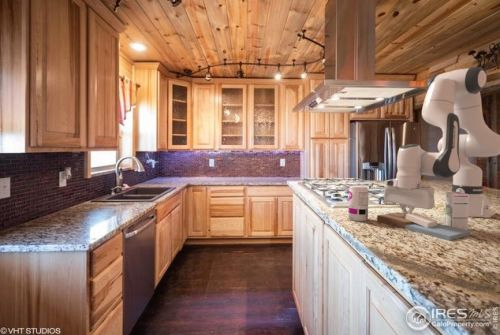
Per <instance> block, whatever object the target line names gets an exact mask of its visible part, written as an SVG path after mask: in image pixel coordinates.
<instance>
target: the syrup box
mask: <svg viewBox="0 0 500 335" xmlns="http://www.w3.org/2000/svg"><path fill="white" fill-rule="evenodd" d="M468 205H469V194H465V193H462V192H452V191H446V192H445V208H444V209H445V210H444V211H445V213H444V214H445V215H444V225H447V226H451V227H456V228H460V229H465V230H468V228H469V226H468V225H469V216H468Z"/></svg>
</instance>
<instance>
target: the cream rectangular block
mask: <svg viewBox="0 0 500 335" xmlns="http://www.w3.org/2000/svg"><path fill="white" fill-rule="evenodd" d="M405 219H407V220H409V221H412V222H414V223H417V224H419V225H422V226H424V227H426V228H428V227H433V226H437V223H438V220H435V219H432V218H430V217H428V216H425V215H423V214H420V213H418V212H417V213H416V212H412V213H411V214H406V217H405Z"/></svg>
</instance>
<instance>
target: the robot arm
mask: <svg viewBox="0 0 500 335" xmlns="http://www.w3.org/2000/svg"><path fill="white" fill-rule="evenodd" d="M487 78H488V76H487V72H486V70H485V69H484V68H482V67H480V66H479V67H477V66H472V67H469V68H460V69H459V68H458V69H454V70H451V71H447V72H443V73H438V74H435V75H432V76H431V77H430V78H429V79H428V80H427V82H426V85H425V91H426V94H425V97H424V99H423V104H422V109H421V117H422V119H423V120H424V121H425V122H426V123H427V124H429V125H431V126H434V127H438V128H439V129H441V131H442V137H441V138H440V139H439V141H438V143H437V149H438V152H429V151H426V150H424V149H422V148H421V145H420V144H417V143H410V144H405V145H401V146H400V147H399V149H398V151H397V156H396V169H397V172H396V178H392V179H388V180H385V181H384V182H385V183H384V184H385V187H384V189H383V200H384V201H385V202H386V203H392V204H398V205H399V207H400V209H401V211H402V212H401V213H402V215H405V216H406V214H411V213H413V211H414V210H415V208H417V209H424V210H433V209H434V207H435V205H436V203H435V196H434V195H435V189H434V188H433V187H432V186H431V185H429V184H428V185H425V184H421V182H422V178H421V177H422V176H421V175H423V176H431V177H438V178H442V179H443V178H444V179H449V178H451V177H452V184H451V187H450V189H451V191H450V192H462V193H465V194H469V205H468V217H470V218H471V217H472V218H473V217H474V218H485V219H489V218H491V217H493V216H495V215H496V214H497V211H494V210H491V202H490V200H489V198H487V197H486V195H485V194H484V192H485V191H486V189H487V187H486V185H484V186H483V170H482V168H481V167H480V166H478V165H476V164H473V163H471V162H470V160H469V157H471V158H489V157H495V156H496V157H497V156H499V155H500V134H498V133H497V132H495V131H493V130H492V129H491V128H489V126H488V125H487V124H486V121H485V120H484V119H485V118H484V115H483V107H482V96H481V92H480V91H482V90H483V89H484V88H485V86H486V84H487ZM461 129H462V130H464V131H465V134H460V130H461ZM407 206H408V210H407V208H406V207H407ZM444 211H445V208H444Z"/></svg>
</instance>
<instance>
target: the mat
mask: <svg viewBox="0 0 500 335" xmlns="http://www.w3.org/2000/svg"><path fill="white" fill-rule="evenodd" d="M404 229H406V230H409V231H413V232H417V233H420V234H424V235H428V236H432V237H434V238H438V239H441V240H442V239H443V240H446V241H449V240H450V241H453V239H454V240H457V239H460V238H466V237H468V236H471V235H472V230H465V229H460V228H456V227H451V226H447V225H445V224H443V223H442V224H441V223H438V222H437V226H433V227H428V228H426V227H424V226H422V225H419V224H417V223H413V224H408V225H405V228H404Z"/></svg>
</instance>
